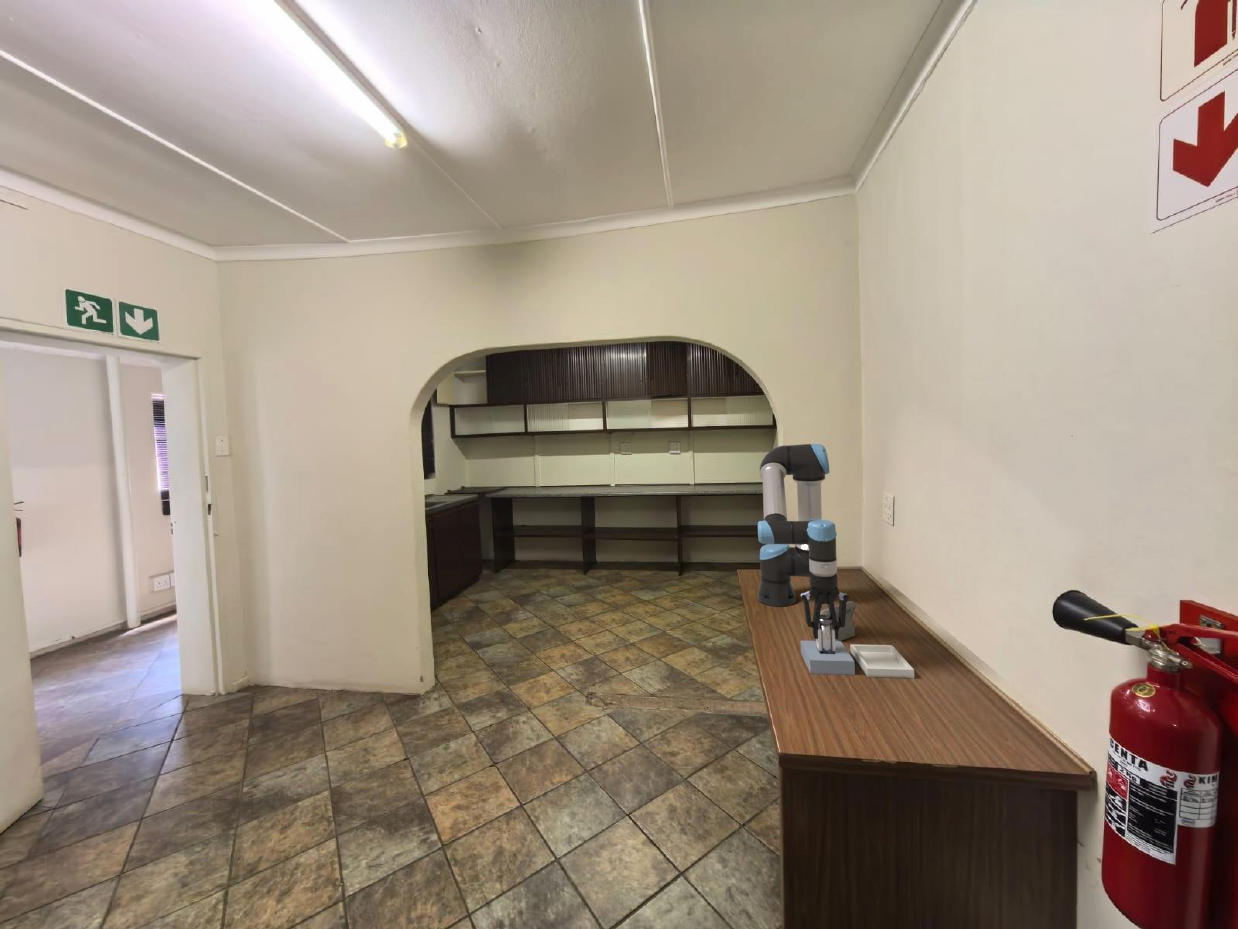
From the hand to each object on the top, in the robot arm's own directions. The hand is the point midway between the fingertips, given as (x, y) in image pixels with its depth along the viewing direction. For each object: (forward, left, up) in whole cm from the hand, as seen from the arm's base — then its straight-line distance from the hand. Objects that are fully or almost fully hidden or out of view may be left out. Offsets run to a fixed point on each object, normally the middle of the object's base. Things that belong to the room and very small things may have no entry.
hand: (825, 648), depth 132 cm
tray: (0, +15, -5) cm, 16 cm away
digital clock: (-19, +8, -5) cm, 21 cm away
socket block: (0, 0, -5) cm, 5 cm away
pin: (0, 0, -5) cm, 5 cm away
